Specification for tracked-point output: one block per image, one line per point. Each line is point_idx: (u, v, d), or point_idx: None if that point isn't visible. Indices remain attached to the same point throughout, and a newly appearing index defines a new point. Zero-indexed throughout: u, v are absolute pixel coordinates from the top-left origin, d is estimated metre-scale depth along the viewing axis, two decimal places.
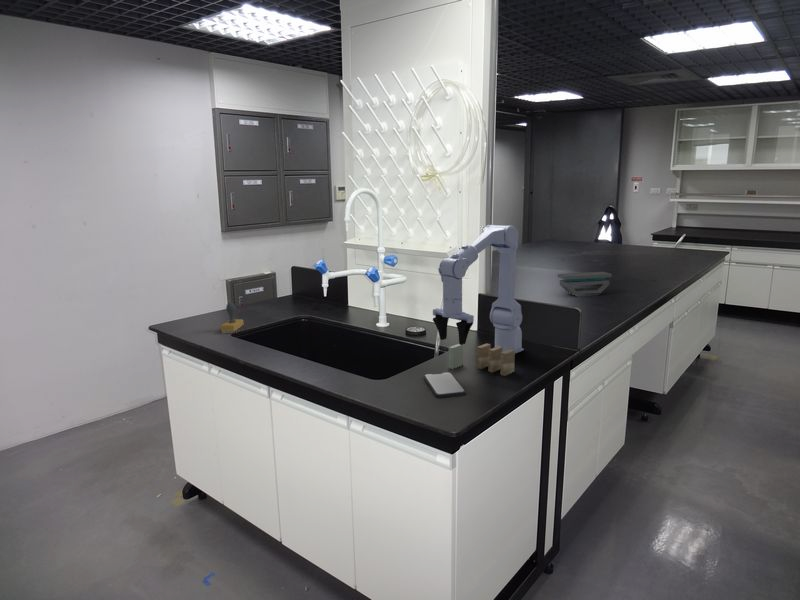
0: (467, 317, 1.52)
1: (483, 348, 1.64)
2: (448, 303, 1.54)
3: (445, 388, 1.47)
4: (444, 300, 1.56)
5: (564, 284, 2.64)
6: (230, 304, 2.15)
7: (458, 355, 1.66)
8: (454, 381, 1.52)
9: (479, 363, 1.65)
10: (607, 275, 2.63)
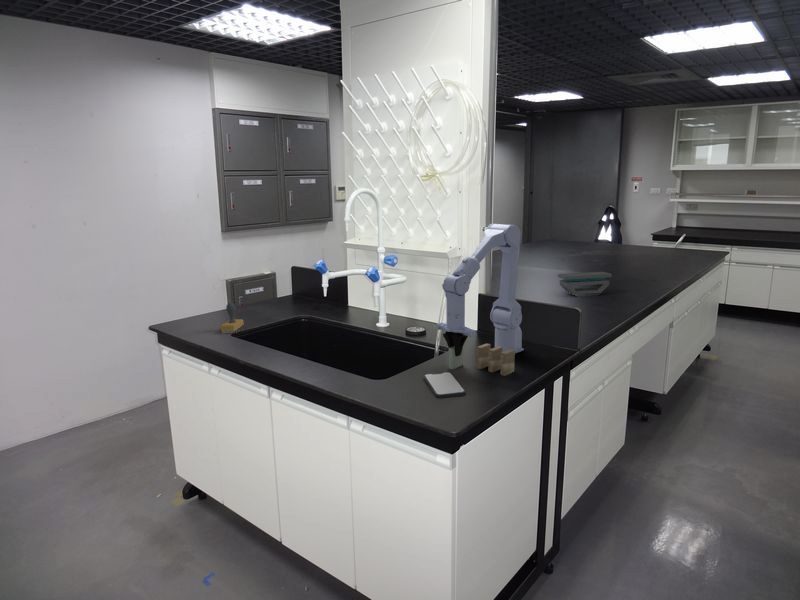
0: (469, 332, 1.59)
1: (483, 348, 1.64)
2: (452, 318, 1.61)
3: (445, 388, 1.47)
4: (447, 315, 1.62)
5: (564, 284, 2.64)
6: (230, 304, 2.15)
7: (458, 356, 1.66)
8: (455, 381, 1.52)
9: (479, 363, 1.65)
10: (607, 275, 2.63)
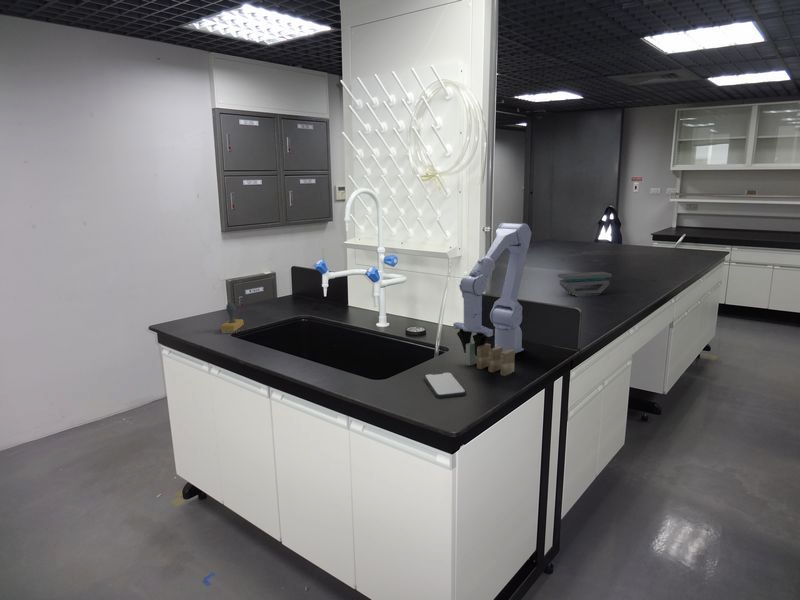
0: (487, 331, 1.62)
1: (483, 348, 1.64)
2: (469, 317, 1.64)
3: (446, 388, 1.47)
4: (465, 315, 1.65)
5: (564, 284, 2.64)
6: (230, 304, 2.15)
7: None
8: (455, 381, 1.52)
9: (479, 363, 1.64)
10: (607, 275, 2.63)
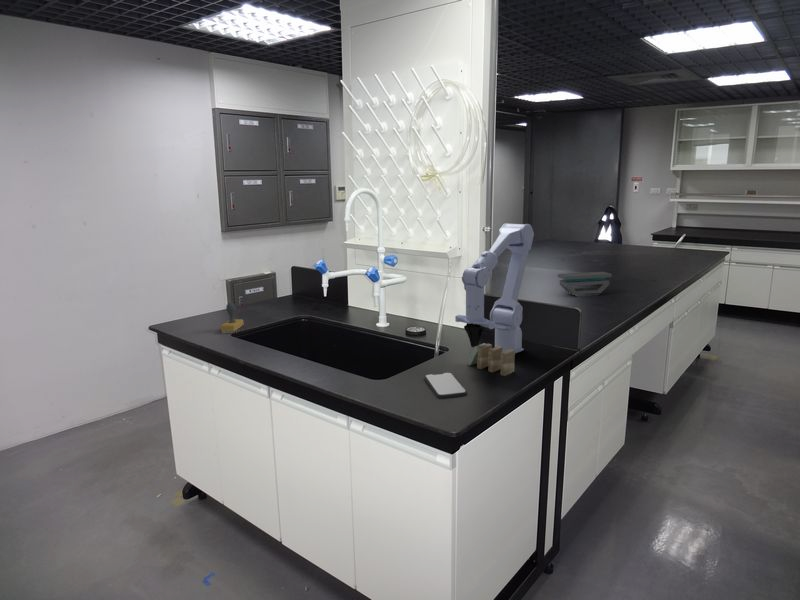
0: (489, 323, 1.61)
1: (484, 348, 1.64)
2: (471, 310, 1.63)
3: (446, 389, 1.47)
4: (467, 307, 1.64)
5: (564, 284, 2.64)
6: (230, 304, 2.15)
7: None
8: (455, 381, 1.52)
9: (479, 363, 1.64)
10: (607, 275, 2.63)
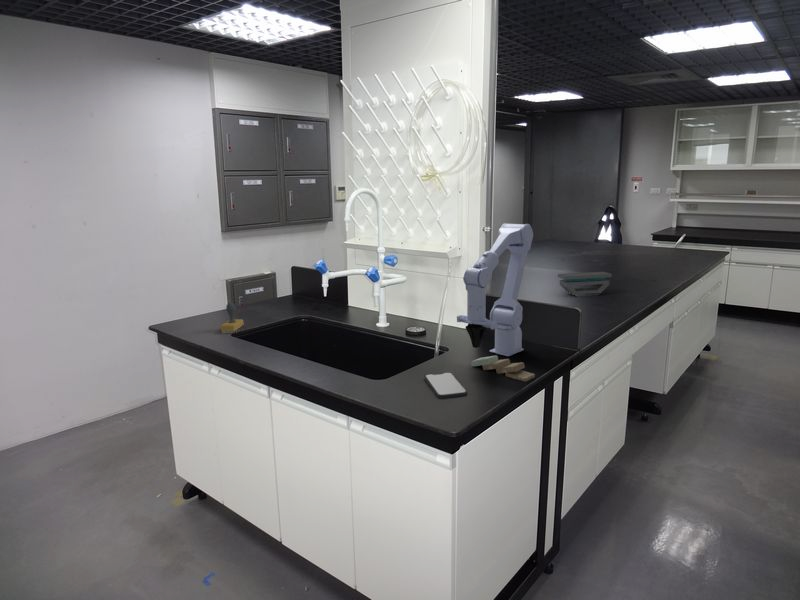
0: (491, 324, 1.60)
1: None
2: (473, 310, 1.62)
3: (446, 389, 1.47)
4: (468, 307, 1.64)
5: (564, 284, 2.64)
6: (230, 304, 2.15)
7: None
8: (456, 381, 1.52)
9: (487, 367, 1.62)
10: (607, 275, 2.63)
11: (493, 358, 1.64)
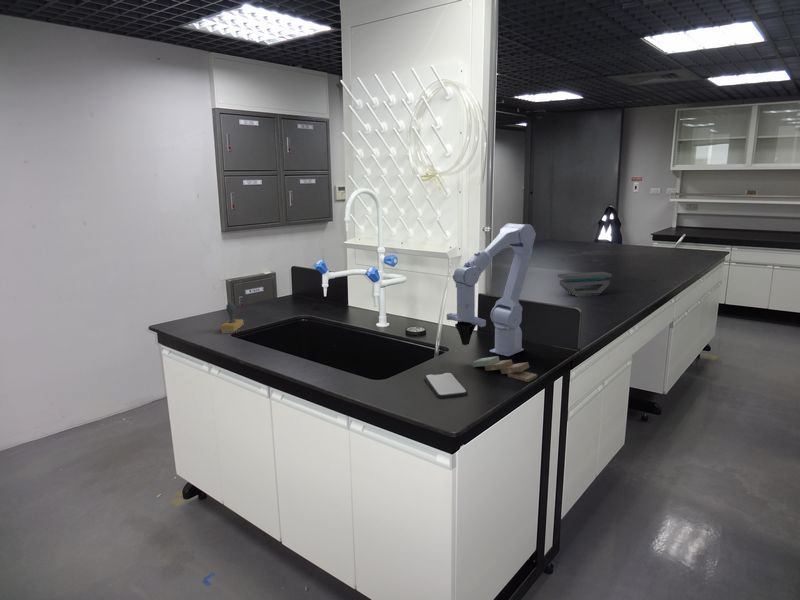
0: (480, 321, 1.63)
1: (504, 367, 1.59)
2: (462, 308, 1.65)
3: (447, 389, 1.47)
4: (458, 305, 1.67)
5: (564, 284, 2.64)
6: (230, 304, 2.15)
7: None
8: (456, 381, 1.52)
9: (489, 368, 1.62)
10: (607, 275, 2.63)
11: (494, 359, 1.63)
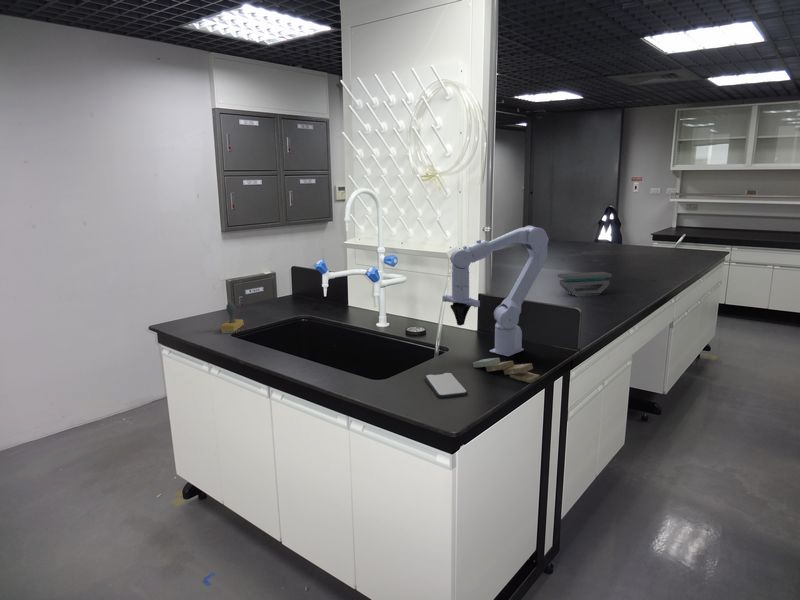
0: (474, 302, 1.70)
1: (504, 368, 1.58)
2: (457, 289, 1.72)
3: (447, 389, 1.46)
4: (453, 287, 1.73)
5: (564, 284, 2.64)
6: (230, 304, 2.15)
7: None
8: (456, 381, 1.52)
9: (490, 369, 1.61)
10: (607, 275, 2.63)
11: (494, 360, 1.62)
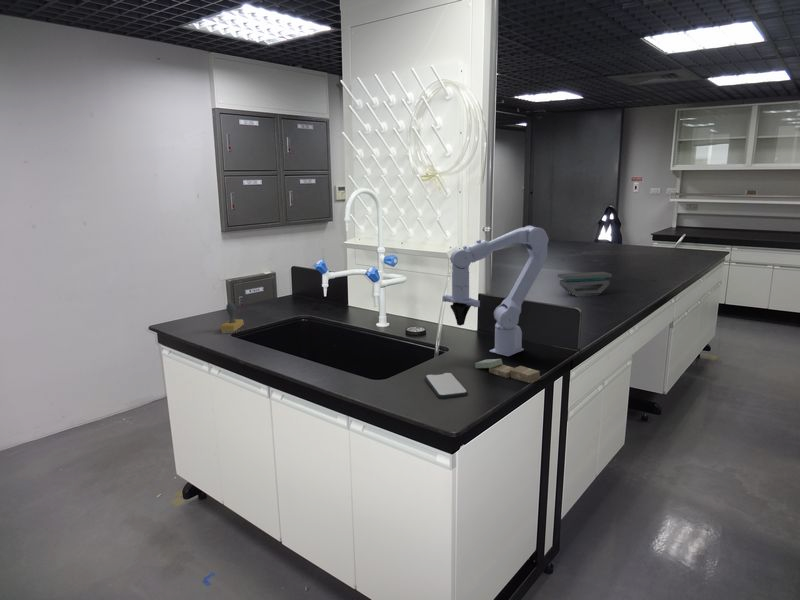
0: (474, 302, 1.70)
1: None
2: (457, 289, 1.72)
3: (447, 389, 1.46)
4: (453, 287, 1.73)
5: (564, 284, 2.64)
6: (230, 304, 2.15)
7: None
8: (456, 381, 1.52)
9: (493, 371, 1.60)
10: (607, 275, 2.63)
11: (497, 361, 1.62)
